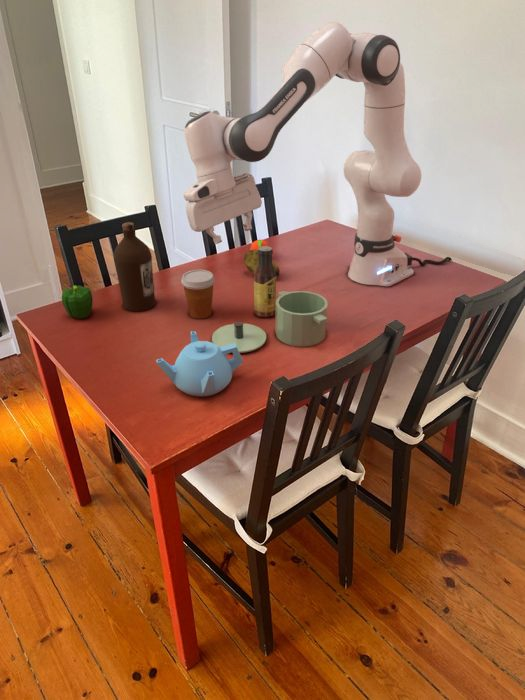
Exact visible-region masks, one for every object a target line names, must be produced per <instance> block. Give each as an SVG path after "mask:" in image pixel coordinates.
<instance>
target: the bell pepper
mask: <svg viewBox="0 0 525 700" xmlns="http://www.w3.org/2000/svg"><path fill="white" fill-rule="evenodd" d="M61 302H62V305H63V307H64V309H65V311H66V313H67V315H68V316H69V317H70V318H75V319H78V320H81V319H87V318H88V317H89V316H90V314H91V313H92V309H93V294H92V290H91V288H90V287H85V286H82V285H73V286H72V288H64V289H63V292H62V294H61Z"/></svg>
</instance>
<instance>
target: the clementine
mask: <svg viewBox="0 0 525 700" xmlns="http://www.w3.org/2000/svg"><path fill="white" fill-rule="evenodd" d="M262 246H269V247H270V245H269V243H268V242H267V240H266V241H265V240H264V239H257V240H254V241H253V242H252V243H251V245H250V247H249V248H250V249H249V251H250V250H258V248H259V247H262Z"/></svg>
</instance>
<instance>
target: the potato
mask: <svg viewBox="0 0 525 700" xmlns="http://www.w3.org/2000/svg"><path fill="white" fill-rule="evenodd" d="M258 261H259V254H258V250H250V249H249V250H248V251H247V252H246V253H244V255H243V263H244V265H245V267H246V268H247V270H248V271H250V272H251V273H252V274H253V276H255V269H256V267H257V266H258V264H259V263H258ZM272 264H273V267H274V270H275V273H276V278H278V277H279V276H280V272H281V271H280V267H279V265H278V264H277V263H276V262H275V261H274V260H272Z"/></svg>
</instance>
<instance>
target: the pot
mask: <svg viewBox="0 0 525 700" xmlns="http://www.w3.org/2000/svg"><path fill="white" fill-rule="evenodd" d="M277 296H278V297H276V309H275V314H274V316H275V317H274V318H275V320H274V321H275V328H274V329H275V336H276V338H277V339H278V340H279V341H280V342H282V343H283V344H286V345H288V346H293V347H310V346H314V345H318V344H319V343H321V342H323V341H324V340H325V339H326V336H327V335H326V333H327V325H328V324H327V323H328V313H329V311H328V309H329V302H328V300H327V298H326V297H325V296H323V295H321V294H320V293H317V292H313V291H305V290H297V291H296V290H295V291H287V290H281V291H279V292H278V293H277Z"/></svg>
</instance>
